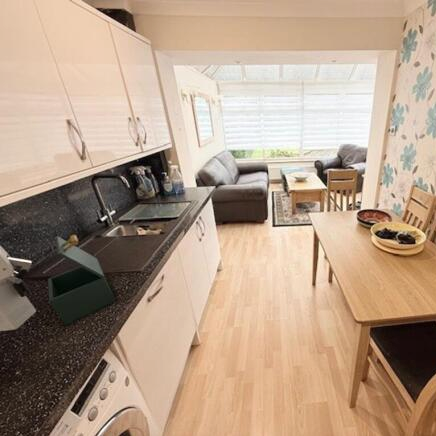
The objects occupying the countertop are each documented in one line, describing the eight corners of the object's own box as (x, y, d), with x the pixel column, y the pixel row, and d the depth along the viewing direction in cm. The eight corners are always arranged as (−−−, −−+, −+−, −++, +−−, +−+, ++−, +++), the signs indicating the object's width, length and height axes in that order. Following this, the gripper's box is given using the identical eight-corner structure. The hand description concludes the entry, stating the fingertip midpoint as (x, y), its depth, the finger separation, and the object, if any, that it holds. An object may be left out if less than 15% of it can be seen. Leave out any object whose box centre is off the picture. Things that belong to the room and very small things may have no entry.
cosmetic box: (21, 313, 65) (-6, 278, 60) (38, 311, 65) (13, 276, 60) (-2, 332, 59) (-34, 295, 54) (17, 330, 60) (-13, 293, 54)
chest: (65, 325, 81) (49, 301, 76) (62, 300, 92) (47, 278, 88) (115, 300, 90) (104, 278, 86) (107, 281, 101) (96, 260, 97)
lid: (57, 254, 75) (72, 242, 77) (55, 237, 86) (68, 227, 88) (102, 278, 85) (114, 266, 87) (95, 260, 96) (106, 250, 98)
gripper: (-124, 264, 44) (-58, 331, 52) (10, 231, 54) (49, 291, 61) (-104, 248, 49) (-46, 311, 57) (15, 221, 59) (51, 278, 67)
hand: (3, 300), depth 59 cm, fingers closed on cosmetic box, 6 cm apart
